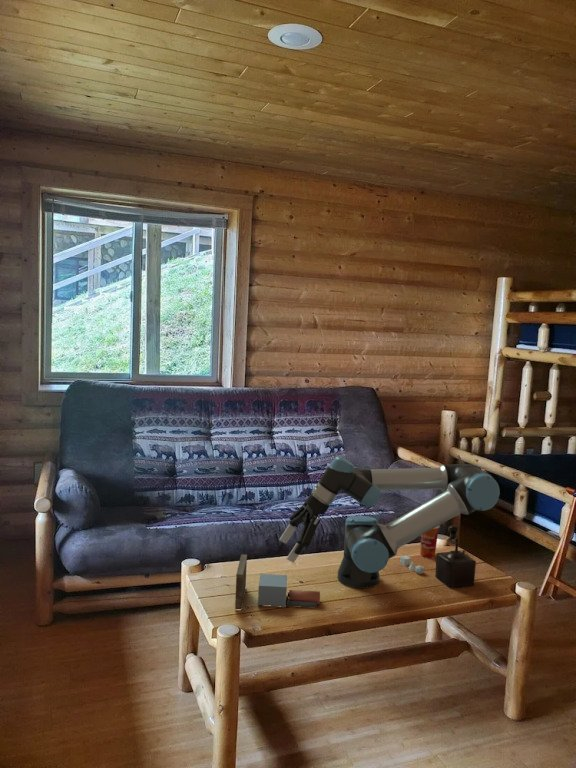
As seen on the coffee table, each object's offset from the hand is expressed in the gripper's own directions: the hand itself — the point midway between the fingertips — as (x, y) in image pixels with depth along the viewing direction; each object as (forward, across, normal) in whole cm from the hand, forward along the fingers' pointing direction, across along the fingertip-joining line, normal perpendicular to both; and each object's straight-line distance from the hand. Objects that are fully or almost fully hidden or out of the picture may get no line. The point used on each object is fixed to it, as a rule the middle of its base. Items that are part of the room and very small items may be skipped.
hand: (286, 550), depth 198 cm
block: (+15, +6, +3) cm, 16 cm away
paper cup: (-17, -27, +65) cm, 72 cm away
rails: (+10, +8, +11) cm, 17 cm away
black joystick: (-18, -5, +64) cm, 67 cm away
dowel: (+10, +8, +12) cm, 18 cm away
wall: (+20, +4, -6) cm, 21 cm away
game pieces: (-12, -15, +54) cm, 58 cm away
